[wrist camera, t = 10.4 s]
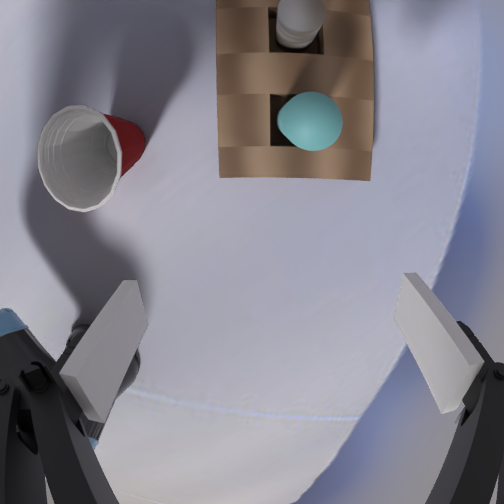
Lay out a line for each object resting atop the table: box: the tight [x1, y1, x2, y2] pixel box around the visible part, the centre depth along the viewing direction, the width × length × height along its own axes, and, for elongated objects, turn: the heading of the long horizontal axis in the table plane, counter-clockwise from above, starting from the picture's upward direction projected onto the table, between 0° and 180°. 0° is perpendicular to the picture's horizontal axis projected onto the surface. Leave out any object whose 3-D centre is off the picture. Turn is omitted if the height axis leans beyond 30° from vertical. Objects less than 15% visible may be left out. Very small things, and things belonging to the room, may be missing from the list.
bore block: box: [216, 0, 374, 181], centre depth 25 cm, size 16×22×11 cm
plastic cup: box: [37, 105, 145, 212], centre depth 29 cm, size 11×11×12 cm
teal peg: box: [276, 92, 343, 151], centre depth 25 cm, size 4×4×15 cm
